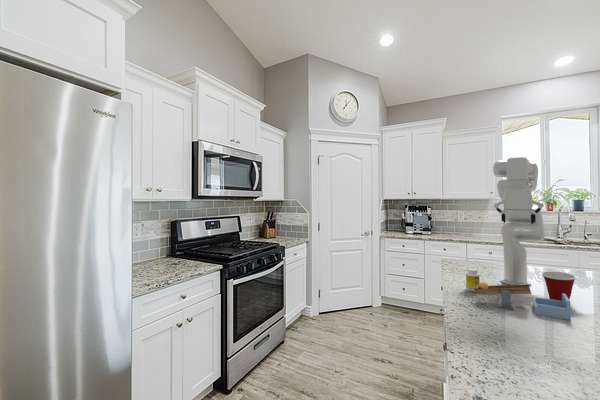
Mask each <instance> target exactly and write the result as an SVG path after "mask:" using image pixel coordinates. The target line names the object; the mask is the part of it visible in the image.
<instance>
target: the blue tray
mask: <svg viewBox="0 0 600 400" xmlns="http://www.w3.org/2000/svg"><path fill="white" fill-rule="evenodd" d="M534 298H535V299H534ZM534 298H533V299H532V305H531V306H533V307H532V310H534V311H533V314H534V315H535V314H536V316H542V317H548V318H553V319H559V320H564V321H568V322H571V320H572V319H571V299H570V300H569V299H568V297H567V295H566V294H563V293H562V301H559V300H552V299H550V298H543V297H538V296H535V297H534Z"/></svg>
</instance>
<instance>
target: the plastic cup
mask: <svg viewBox="0 0 600 400" xmlns="http://www.w3.org/2000/svg"><path fill="white" fill-rule="evenodd" d="M541 275H542V277H543V279H544V282H545V286H546V289H547V294H548V299H552V300H559V301H562V293H563V294H566V295H567V297H568V299H569V300H570V301H571V299H570V298H571V297H572V291H573V287H574V286H573V285H574V283H575V280H576V279H577V276H576V275H574V274H573V273H568V272H563V271H549V270H548V271H543V272H541Z"/></svg>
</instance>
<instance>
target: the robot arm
mask: <svg viewBox="0 0 600 400" xmlns="http://www.w3.org/2000/svg"><path fill="white" fill-rule="evenodd" d="M492 171H493V176H494V177H496V178H501V179H500V180H498V181H497V184H496V185H497V186H496V187H497V193H498V195H499V197H500V199H501V201H499V202H497V203H494V204H493V207H494V209H495V210H496V211H497V212H498V213H499V214H500V215H501V222H503V224H502V226H501V230H500V232H501V238H502V247H503V277H501V278H500V282H501V283H504V284H505V285H520V284H529V287H531V285H532V283H531V281H529V280H528V267H527V266H528V262H527V261H528V260H527V258H528V257H527V252H528V251H527V248H525V246H524V245H523V244H522V243H521V242H526V243H541V242H543V241H544V240H545V237H546V235H545V227H544V226H545V225H544V219H543V214H542V209H543V207H544V206H545V205H544V204H543V203H541V202H539V201H535V200H533V193H532V192H535V191H536V189H537V188H538V186H537V185H538V178H539V177H538V176H539V167H538V164H537V163H536V162H534V161H530V160H529V159H528V158H527V157H525V156H523V155H522V156H520V155H519V156H512V157H511V156H510V157H508V158H507V159H505V160H504V159H503V160H496V161H495V162H494V163H493V167H492ZM501 205H502V206H503V209H500V207H499V206H501ZM534 205H536V206H538V207H536V206H534Z"/></svg>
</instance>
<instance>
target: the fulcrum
mask: <svg viewBox="0 0 600 400" xmlns="http://www.w3.org/2000/svg"><path fill="white" fill-rule="evenodd" d="M500 295H501V298H498V309H501V310H507V311H512V310H513V311H515V303H514V300H512V294H511V291H505V290H501V294H500Z"/></svg>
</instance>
